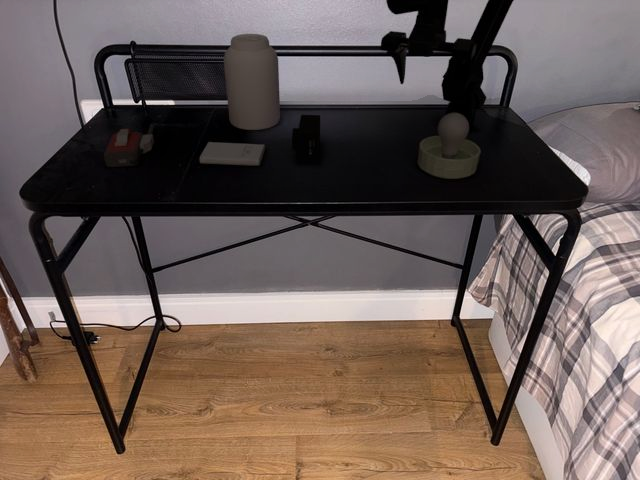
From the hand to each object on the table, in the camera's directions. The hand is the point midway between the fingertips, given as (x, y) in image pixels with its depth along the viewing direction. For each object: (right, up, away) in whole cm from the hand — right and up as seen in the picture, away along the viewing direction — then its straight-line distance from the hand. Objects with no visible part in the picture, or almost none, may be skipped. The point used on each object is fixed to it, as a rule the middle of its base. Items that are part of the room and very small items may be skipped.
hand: (422, 86), depth 108 cm
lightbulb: (+4, -17, -3) cm, 18 cm away
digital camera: (-25, -14, +2) cm, 29 cm away
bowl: (+4, -18, -3) cm, 19 cm away
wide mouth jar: (-38, -4, +16) cm, 42 cm away
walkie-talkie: (-63, -13, +2) cm, 65 cm away
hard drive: (-41, -15, 0) cm, 44 cm away
